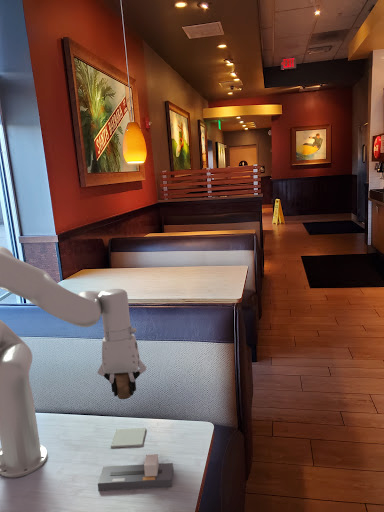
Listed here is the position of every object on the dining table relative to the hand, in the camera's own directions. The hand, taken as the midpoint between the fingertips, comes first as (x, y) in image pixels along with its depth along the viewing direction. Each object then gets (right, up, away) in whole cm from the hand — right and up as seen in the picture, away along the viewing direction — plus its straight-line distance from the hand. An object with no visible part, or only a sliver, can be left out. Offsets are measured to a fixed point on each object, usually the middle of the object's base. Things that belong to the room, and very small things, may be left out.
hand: (124, 392), depth 117 cm
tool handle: (0, -1, 0) cm, 1 cm away
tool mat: (+1, -14, +2) cm, 14 cm away
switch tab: (+9, -14, -16) cm, 23 cm away
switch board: (+6, -17, -15) cm, 23 cm away
